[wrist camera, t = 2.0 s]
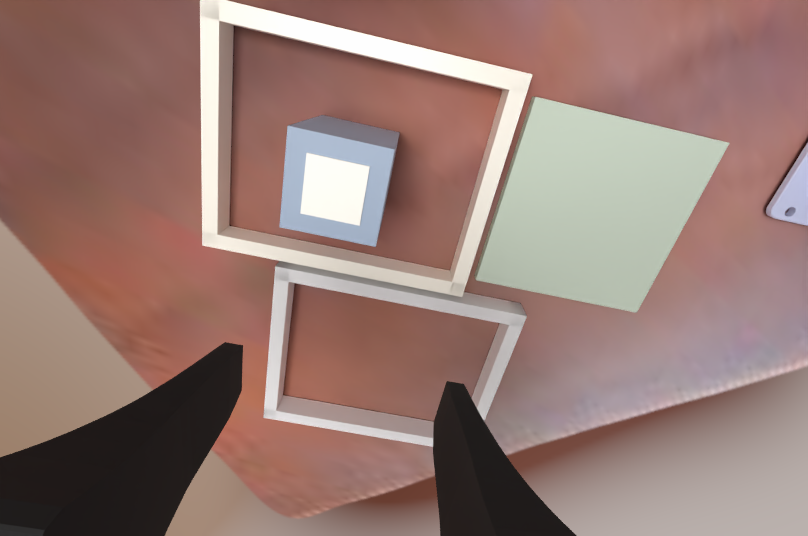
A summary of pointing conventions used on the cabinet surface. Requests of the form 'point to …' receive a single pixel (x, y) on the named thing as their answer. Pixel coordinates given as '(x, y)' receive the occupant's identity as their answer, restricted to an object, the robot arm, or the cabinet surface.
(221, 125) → the cream rectangular frame
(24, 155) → the cabinet surface
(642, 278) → the green mat
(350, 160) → the slate block
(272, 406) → the grey rectangular frame
